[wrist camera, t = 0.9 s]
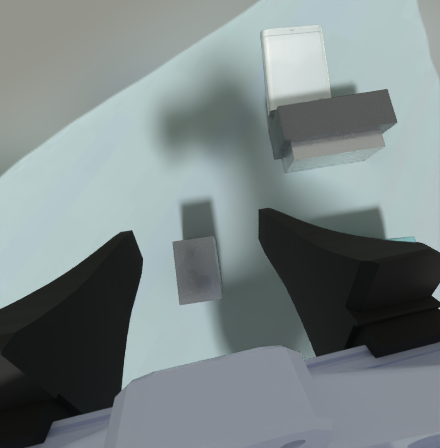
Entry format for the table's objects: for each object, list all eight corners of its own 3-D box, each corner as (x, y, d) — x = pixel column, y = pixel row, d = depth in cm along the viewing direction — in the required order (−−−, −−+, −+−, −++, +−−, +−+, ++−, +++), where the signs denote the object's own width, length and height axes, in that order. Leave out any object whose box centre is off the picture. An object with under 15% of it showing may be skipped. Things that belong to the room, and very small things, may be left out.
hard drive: (334, 106, 25) (322, 23, 27) (269, 110, 25) (261, 27, 27) (327, 115, 27) (316, 36, 28) (267, 119, 27) (259, 40, 29)
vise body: (371, 159, 25) (402, 139, 20) (277, 174, 25) (288, 157, 21) (359, 117, 26) (387, 89, 21) (268, 131, 26) (277, 106, 21)
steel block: (222, 289, 23) (221, 298, 18) (189, 293, 23) (179, 305, 19) (215, 239, 24) (212, 235, 19) (183, 243, 24) (172, 241, 19)
